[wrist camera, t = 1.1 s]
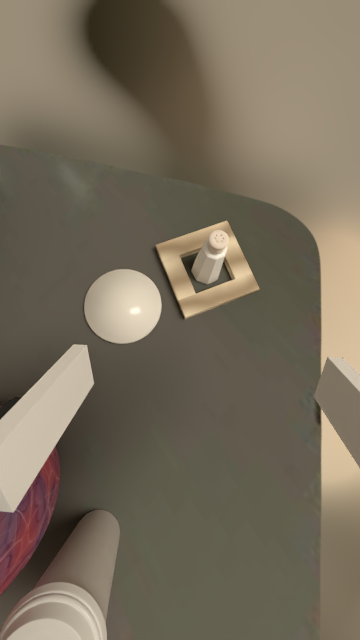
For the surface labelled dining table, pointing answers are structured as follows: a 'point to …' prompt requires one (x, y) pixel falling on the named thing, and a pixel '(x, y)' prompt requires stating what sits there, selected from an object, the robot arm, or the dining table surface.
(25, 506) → the decorative sphere
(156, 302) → the white plate
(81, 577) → the coffee cup
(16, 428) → the robot arm
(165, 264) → the birch frame
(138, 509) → the dining table surface
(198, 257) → the pepper shaker
